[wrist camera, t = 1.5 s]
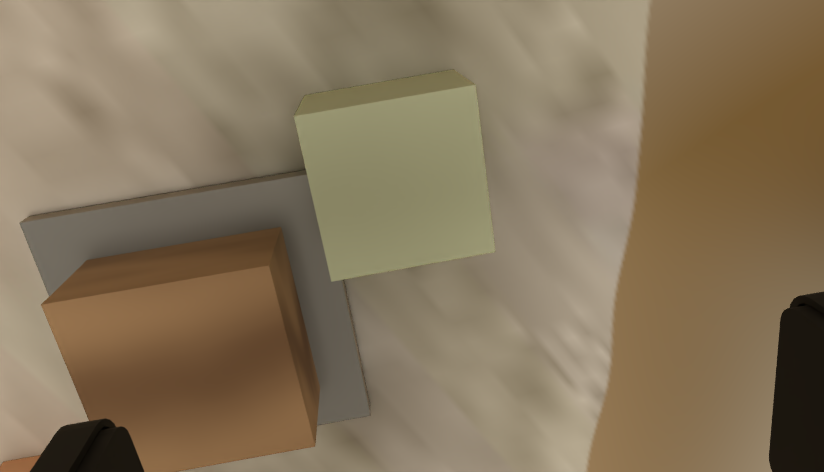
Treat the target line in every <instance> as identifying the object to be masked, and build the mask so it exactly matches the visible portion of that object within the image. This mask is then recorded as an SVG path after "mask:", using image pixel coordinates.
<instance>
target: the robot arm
mask: <svg viewBox="0 0 824 472" xmlns="http://www.w3.org/2000/svg"><path fill="white" fill-rule="evenodd" d="M769 462H770V466H771V469H772V472H824V292H819V293H813V294H807V295H802V296H798V297H796V298H794V300H793V301H792V303H791V304H790V308H788V309H786V310H784V312H783V313H782V316H781V321H780V332H779V344H778V356H777V367H776V380H775V392H774V403H773V415H772V427H771V439H770V450H769ZM30 472H144V469H143V466H142V464H141V461H140V459H139V456H138V454H137V451H136V449H135V446H134V444H133V441H132V439H131V436H130V434H129V432H128V430H127V429H126V428H125V427H122V426H120V427H116V426H115V424H114V423H113V422H112V421H111V420H110V419H106V418H104V419H99V420H93V421H87V422H82V423H76V424H70V425H66V426H63V427H61V428H60V429H59V430H58V431H57V432H56V434H55V435H54V437H53V438H52V440H51V441H50V443H49V444H48V445H47V447H46V448H45V450H44V451H43V453H42V454H41V456H40V457H39V459H38V460H37V462H36V463H35V465H34V466H33V467H32V469H31V470H30Z"/></svg>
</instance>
